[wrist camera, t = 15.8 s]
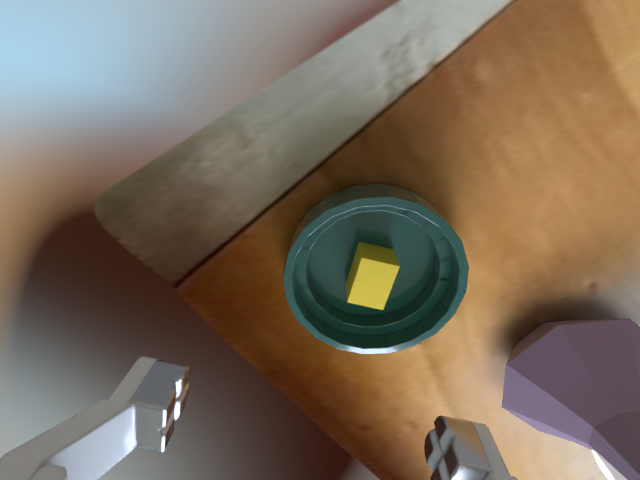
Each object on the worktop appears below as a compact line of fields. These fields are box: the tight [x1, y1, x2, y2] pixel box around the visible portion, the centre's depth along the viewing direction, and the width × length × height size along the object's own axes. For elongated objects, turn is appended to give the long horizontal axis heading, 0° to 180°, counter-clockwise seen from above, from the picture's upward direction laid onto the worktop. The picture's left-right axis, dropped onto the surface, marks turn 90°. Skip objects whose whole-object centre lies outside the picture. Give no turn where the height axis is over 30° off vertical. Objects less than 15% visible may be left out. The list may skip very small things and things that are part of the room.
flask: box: [502, 319, 640, 480], centre depth 30 cm, size 16×16×20 cm
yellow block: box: [346, 242, 400, 310], centre depth 33 cm, size 5×4×4 cm
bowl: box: [283, 184, 469, 354], centre depth 33 cm, size 17×17×4 cm
